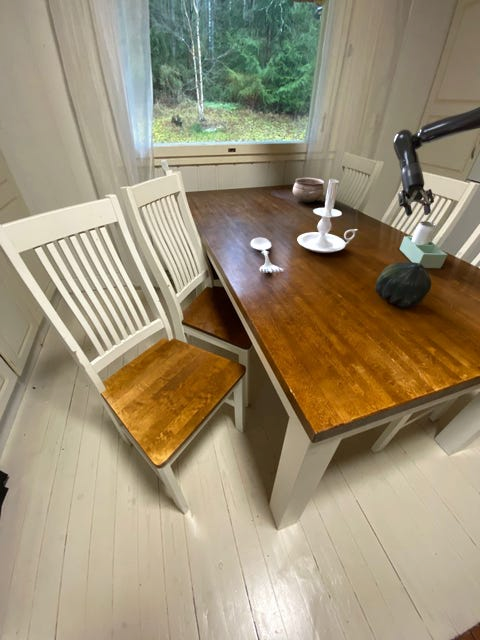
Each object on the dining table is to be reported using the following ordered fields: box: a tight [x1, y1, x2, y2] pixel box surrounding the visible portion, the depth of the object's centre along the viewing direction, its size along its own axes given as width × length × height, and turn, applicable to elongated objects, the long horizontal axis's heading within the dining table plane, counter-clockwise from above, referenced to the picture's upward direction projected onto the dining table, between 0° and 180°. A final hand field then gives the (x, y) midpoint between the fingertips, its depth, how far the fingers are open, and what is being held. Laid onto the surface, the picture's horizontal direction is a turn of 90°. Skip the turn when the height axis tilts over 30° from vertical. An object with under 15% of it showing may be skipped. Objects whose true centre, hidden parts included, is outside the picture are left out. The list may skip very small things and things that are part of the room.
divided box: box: [399, 235, 448, 269], centre depth 112 cm, size 9×17×6 cm, turn 177°
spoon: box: [250, 237, 284, 274], centre depth 111 cm, size 9×32×3 cm, turn 5°
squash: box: [375, 261, 432, 309], centre depth 86 cm, size 14×15×15 cm
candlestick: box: [296, 178, 358, 254], centre depth 112 cm, size 21×25×28 cm
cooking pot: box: [292, 177, 325, 204], centre depth 172 cm, size 25×19×12 cm
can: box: [411, 220, 437, 245], centre depth 113 cm, size 6×6×12 cm
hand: (418, 214), depth 113 cm, fingers open, 8 cm apart
